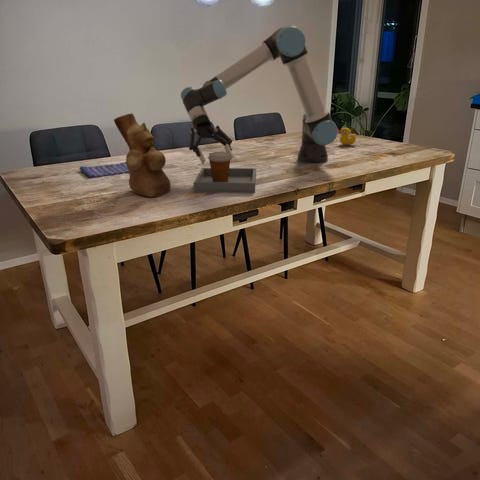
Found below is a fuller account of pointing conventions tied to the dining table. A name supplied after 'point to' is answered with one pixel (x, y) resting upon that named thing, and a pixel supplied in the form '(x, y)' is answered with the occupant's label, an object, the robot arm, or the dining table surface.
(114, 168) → the dish towel
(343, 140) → the duckling
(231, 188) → the grey tray
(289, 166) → the dining table surface
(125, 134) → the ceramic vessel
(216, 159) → the disposable coffee cup
